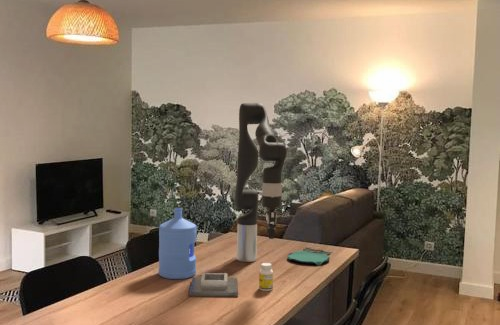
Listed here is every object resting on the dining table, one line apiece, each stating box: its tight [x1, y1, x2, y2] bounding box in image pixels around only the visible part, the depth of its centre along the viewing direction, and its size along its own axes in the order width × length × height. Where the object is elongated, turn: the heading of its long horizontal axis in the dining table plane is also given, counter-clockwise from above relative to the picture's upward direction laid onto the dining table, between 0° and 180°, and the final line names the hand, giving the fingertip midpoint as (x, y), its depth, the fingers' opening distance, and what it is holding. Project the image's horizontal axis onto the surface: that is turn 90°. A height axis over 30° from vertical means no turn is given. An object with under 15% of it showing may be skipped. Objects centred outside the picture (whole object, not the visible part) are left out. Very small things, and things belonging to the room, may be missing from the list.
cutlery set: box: [286, 246, 333, 266], centre depth 243 cm, size 20×30×2 cm, turn 155°
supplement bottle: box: [258, 262, 274, 292], centre depth 194 cm, size 5×5×10 cm
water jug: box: [158, 207, 198, 280], centre depth 210 cm, size 16×16×28 cm
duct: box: [188, 272, 239, 298], centre depth 193 cm, size 18×18×4 cm
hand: (270, 236), depth 193 cm, fingers open, 8 cm apart
